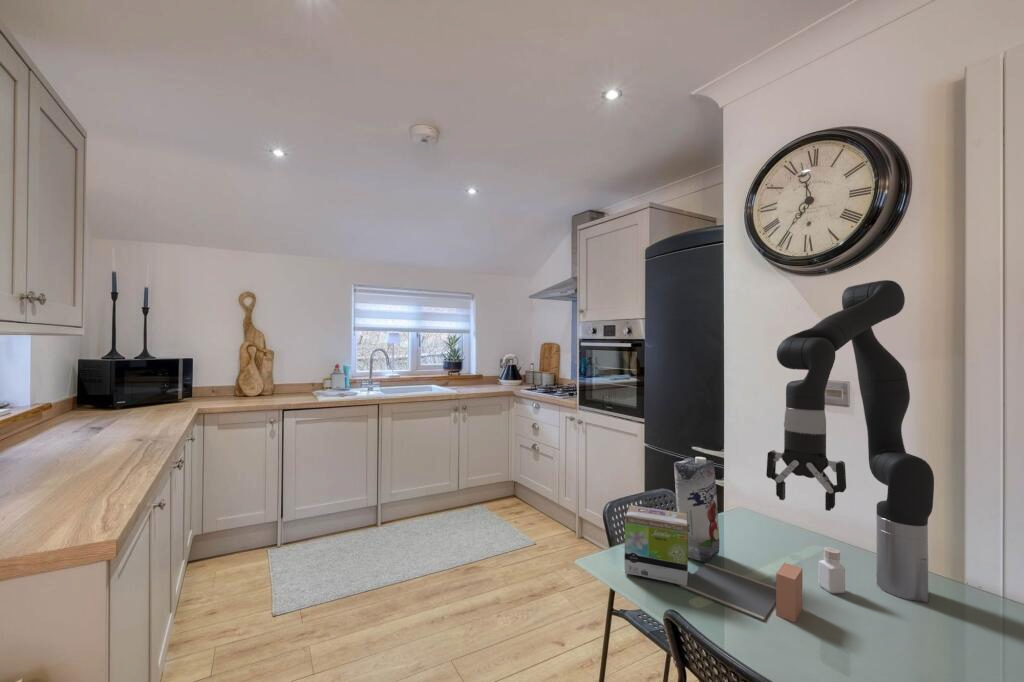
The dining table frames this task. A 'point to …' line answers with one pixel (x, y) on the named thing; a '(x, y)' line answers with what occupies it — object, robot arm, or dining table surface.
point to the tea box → (656, 544)
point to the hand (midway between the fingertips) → (804, 504)
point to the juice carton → (698, 506)
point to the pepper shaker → (832, 571)
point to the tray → (733, 590)
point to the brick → (789, 592)
